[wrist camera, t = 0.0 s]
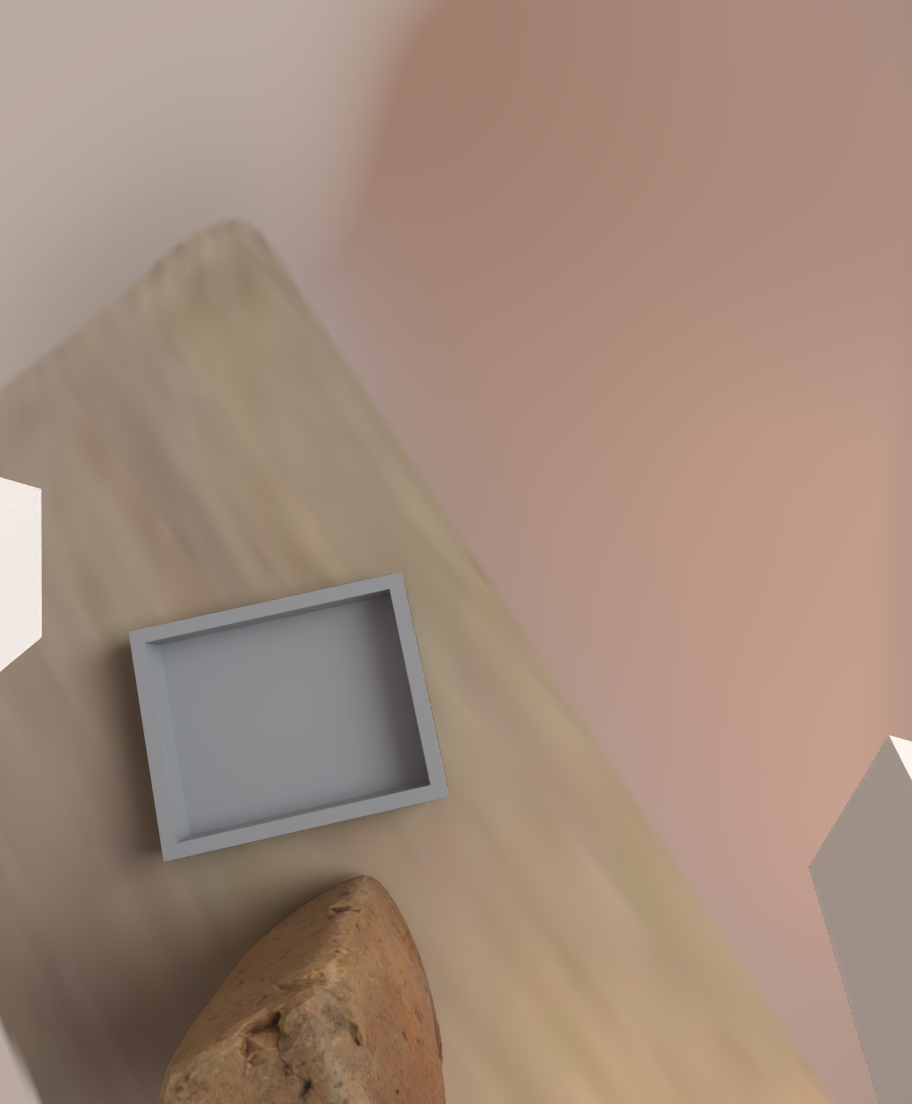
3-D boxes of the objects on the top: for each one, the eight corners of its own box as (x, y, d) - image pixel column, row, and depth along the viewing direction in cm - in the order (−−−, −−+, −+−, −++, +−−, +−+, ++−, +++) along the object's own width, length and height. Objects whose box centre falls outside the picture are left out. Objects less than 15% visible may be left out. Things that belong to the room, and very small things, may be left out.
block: (261, 915, 46) (112, 1086, 26) (379, 851, 46) (322, 971, 27) (345, 1103, 44) (255, 1437, 24) (467, 1034, 45) (476, 1306, 25)
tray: (448, 789, 47) (447, 796, 44) (182, 851, 46) (163, 861, 43) (403, 579, 49) (400, 572, 46) (148, 635, 48) (128, 631, 45)
